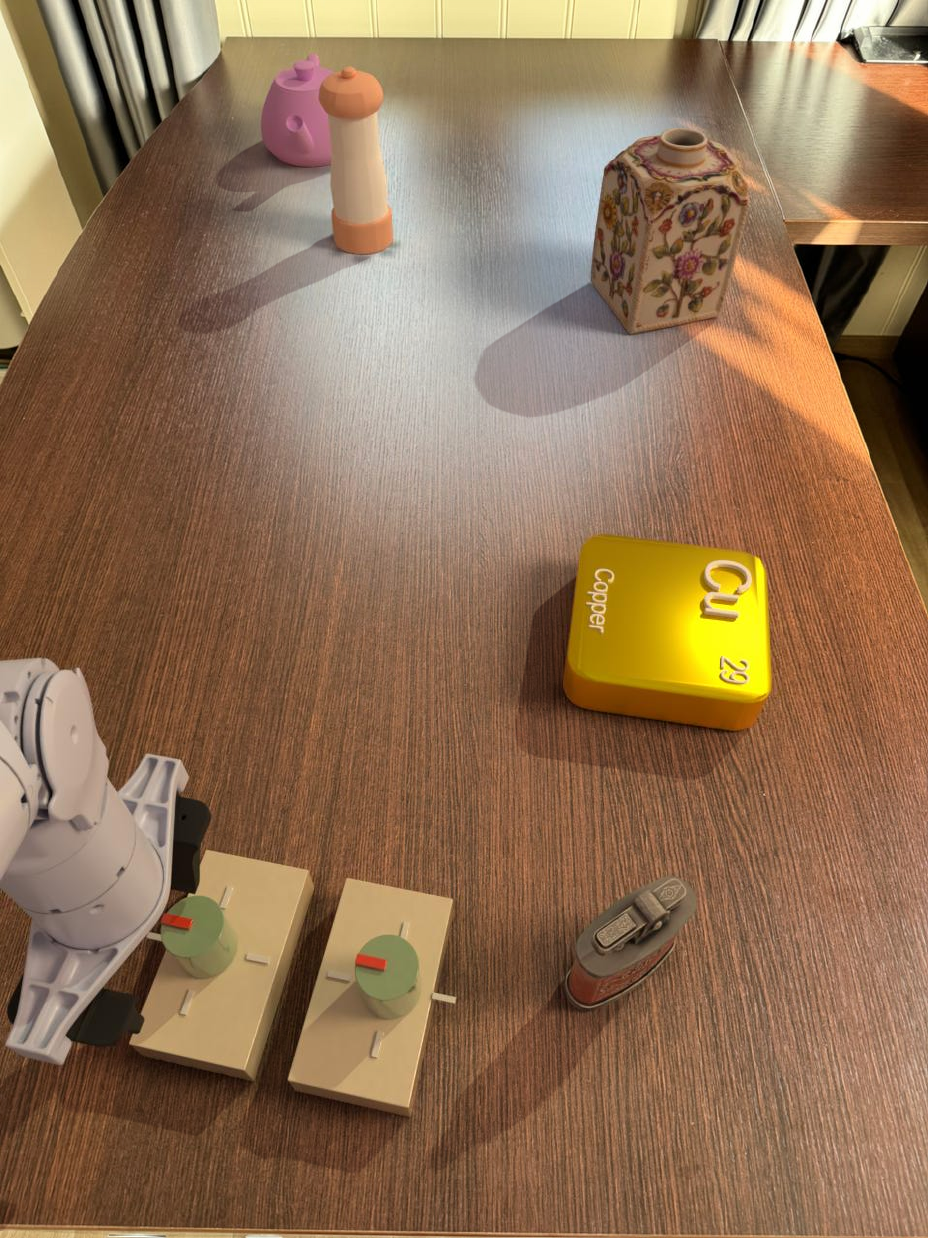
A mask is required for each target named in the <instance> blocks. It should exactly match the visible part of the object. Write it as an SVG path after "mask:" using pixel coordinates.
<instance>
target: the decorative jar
mask: <svg viewBox="0 0 928 1238" xmlns="http://www.w3.org/2000/svg"><path fill="white" fill-rule="evenodd" d="M741 163H742V162H741V161H740V160H739V159H738V158H737V157H736V156H735V155H734V154H733V153H732V152H731V151H730V150H729V149H728V148H727V147H725V146H724V145H723V144H721V143H719V142H717V141H713V140H709V139H708V137H707V136H706V135H705V134H704V133H703V132H701V131H699V130H696V129H693V128H687V127H672V128H668V129H665V130H663V132H661V133H660V135H659V134H658V135H651V136H645V137H644V136H643V137H640V138H639V139H636V140H635V141H634V142H633V143H631V145H629V146H627V148H626V149H624V150H622V151H620V152H619V153H618V154H617V155H616V156H615V157H614V159H612V160H610V161H608V163H607V164H606V165H605V166H604V168H603V175H602V180H601V187H600V194H599V201H598V202H599V203H598V208H597V216H596V222H595V228H594V229H595V230H594V237H593V247H592V257H591V265H590V277H589V278H590V282H591V284H592V285H593V287H595V289H596V290H597V292H598V293H599V294H600V296H601V297H602V299H603V300H604V301H605V303H606V304H607V305H608V307H609V308H610V310H611V311H612V312H613V314H614V315H615V316H616V317H617V319H618V320H619V321H620V323H621V325H622V326H623V327H624V328H625V330H626V331H627V332H628V334H630V335H635V334H640V333H644V332H650V331H655V330H660V329H666V328H671V327H677V326H680V325H686V324H690V323H694V322H700V321H704V320H709V319H715V318H718V317H719V316H720V315H721V314H722V311H723V309H724V305H725V302H726V298H727V296H728V292H729V288H730V285H731V281H732V278H733V272H734V269H735V264H736V260H737V256H738V253H739V250H740V249H739V248H740V246H741V241H742V237H743V234H744V229H745V226H746V221H747V217H748V213H749V209H750V203H751V196H750V194H749V189H748V184H747V181H746V179H745V175H744V172H743V167H742V164H741Z"/></svg>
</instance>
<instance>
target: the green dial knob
mask: <svg viewBox="0 0 928 1238" xmlns="http://www.w3.org/2000/svg"><path fill="white" fill-rule="evenodd" d="M160 924H161V927H160V935H161V939H162V942H161V943H162V945H163V947H164V948H165V950H166V949H167V950H168V952H169V953H170V954H171V955H172V957H173V958H174V959H175V960H176V962H177V963H178V964H179V965H180V966H181V968H182V969H183V970H184V971H185V972H186V973H187V974H189V975H190V976H192V977H195V978H210V977H213V976H216V975H218V974H220V973H221V972H223V971H224V970H225V969H226V968H227V967H228V966H229V965H230V964H231V962H232V961H233V959H234V957H235V955H236V952H237V946H238V941H237V935H236V933H235V931H234V929H233V927H232V926H231V924H230V922H229V921H228V919H227V917H226V915H225V914H224V912H223V910H222V909H221V907H220V906H219V904H218V903H217V902H216V901H214V900H213V899H211V898H209V897H206V896H190V897H187V896H186V897H184V898H182V899H180V900H179V901H177V902H176V903H175V904H173V906H171V907H170V909H169V910H168V911H167V912H166V913H163V914H162V918H161V920H160Z"/></svg>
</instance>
